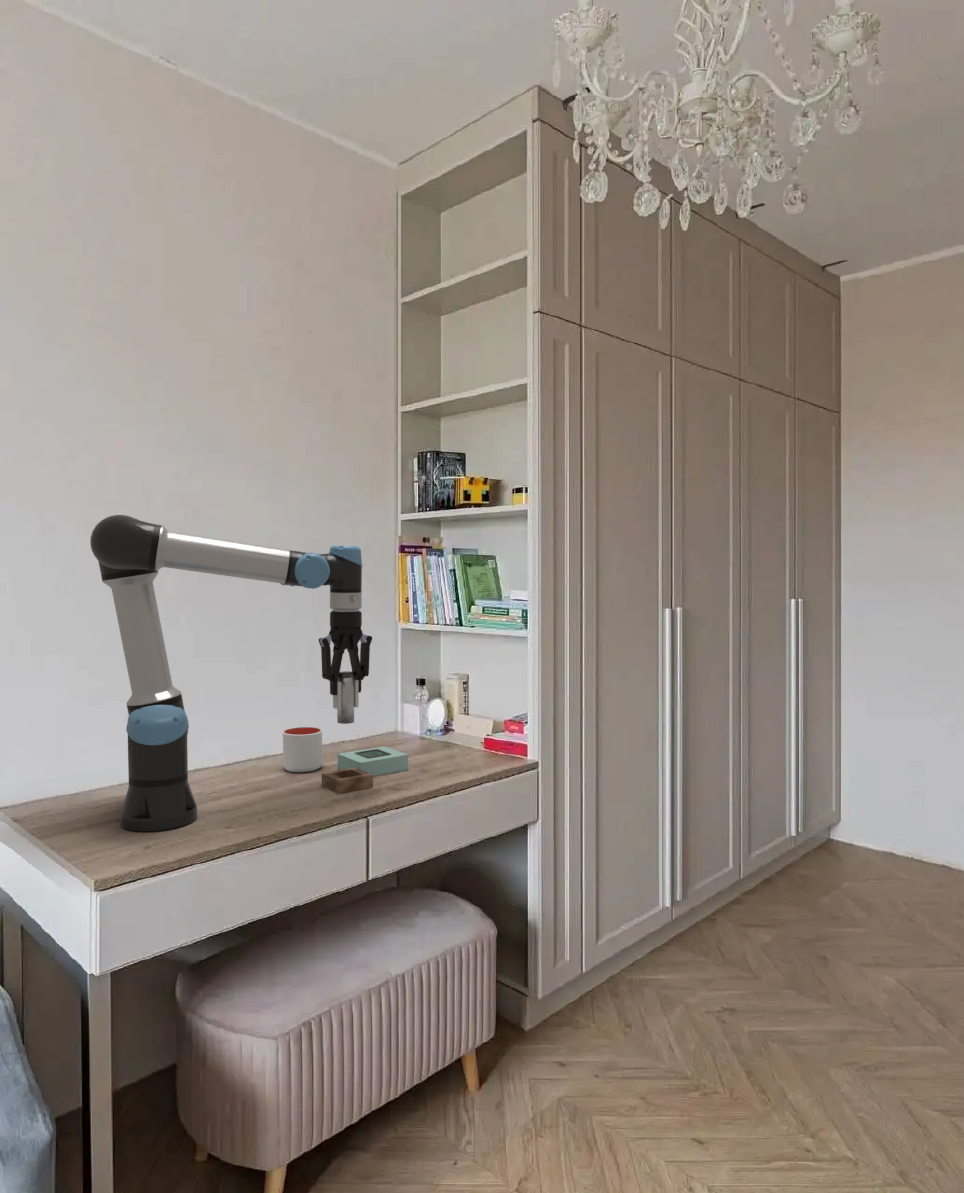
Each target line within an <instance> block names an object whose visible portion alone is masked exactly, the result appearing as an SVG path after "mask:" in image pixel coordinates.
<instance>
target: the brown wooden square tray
mask: <svg viewBox="0 0 964 1193" xmlns="http://www.w3.org/2000/svg"><path fill="white" fill-rule="evenodd" d="M321 786H323V787H324V788H327V789H329V790H331V791H332V792H335V793H338V794H344V793H351V792H354V791H355V792H356V791H360V790H365V789H370V788H374V776H373V775H372V774H370V773H367V772H365V771H362V770H360V769H357V768H355V767H353V768H348V769H342V770H339V769H337V770H332V771H325V772H321Z"/></svg>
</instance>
